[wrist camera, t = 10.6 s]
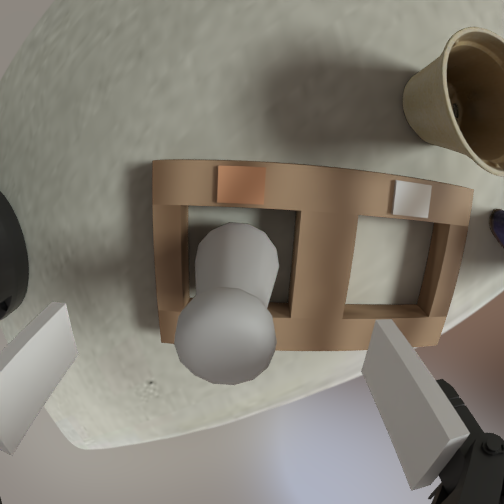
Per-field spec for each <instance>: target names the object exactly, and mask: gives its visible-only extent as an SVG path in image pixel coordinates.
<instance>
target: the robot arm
mask: <svg viewBox="0 0 504 504" xmlns="http://www.w3.org/2000/svg"><path fill="white" fill-rule="evenodd" d="M28 276H29V268H28V256H27V250H26V245H25V241H24V237H23V233H22V230H21V227H20V224H19V222H18V219H17V217H16V215H15V213H14V211H13V209H12V207H11V205H10V204H9V202H8V201H7V199H6V198H5V196H4V195H3V194H2V193H1V192H0V320H1V319H3V318H5V317H7V316H8V315H9V314H10V313H12V312H13V311H14V310H15V309H16V308H18V307H19V305H20V304H21V303H22V301H23V299H24V297H25V294H26V291H27V286H28ZM78 355H79V354H78V350H77V347H76V343H75V339H74V335H73V332H72V327H71V323H70V319H69V315H68V310H67V306H66V303H61V302H52V303H50V304H49V305H48V306H47V307H46V308H45V309H44V310H43V311H42V312H41V313H40V314H39V315H37V316H36V317H35V318H34V319H33V320H32V321H31V322H30V323H29V324H28V325H27V326H26V327H25V328H24V329H23V330H22V331H21V332H20V333H19V334H18V335H17V336H16V337H15V338H14V339H13V340H12V341H11V342H10V343H9V344H8V345H7V346H6V347H5V348H4V349H3V350H2V351H1V352H0V450H1V451H4V452H6V453H7V454H9V455H11V456H13V454H14V452H15V451H16V449H17V447H18V446H19V444H20V442H21V440H22V439H23V437H24V436H25V434H26V432H27V431H28V429H29V428H30V426H31V425H32V423H33V421H34V420H35V418H36V417H37V415H38V414H39V412H40V410H41V409H42V407H43V406H44V404H45V403H46V401H47V400H48V398H49V397H50V395H51V394H52V392H53V391H54V389H55V388H56V386H57V385H58V383H59V382H60V380H61V379H62V377H63V376H64V375H65V373H66V372H67V370H68V369H69V367H70V366H71V365H72V363H73V362H74V360H75V359H76V357H77V356H78ZM361 372H362V374H363V376H364V378H365V380H366V383H367V385H368V387H369V389H370V392H371V394H372V396H373V398H374V401H375V403H376V405H377V408H378V410H379V412H380V415H381V417H382V419H383V422H384V424H385V426H386V429H387V431H388V434H389V436H390V438H391V441H392V443H393V446H394V448H395V450H396V453H397V456H398V458H399V461H400V463H401V466H402V468H403V471H404V473H405V475H406V478H407V481H408V483H409V486H410V489H411V490H415V489H418V488H422V487H425V486H428V485H431V483H432V482H433V481H434V480H435V479H436V478H437V477H438V475H439V477H440V479H441V481H442V482H441V484H440V485H439V486H438V487H437V488H436V489H435V490H434V491H433V492H432V493H431V495H430V496H429V498H428V499H431V498H432V497H433V496H434V495H435V496H434V499H433V501H432V503H431V504H504V440H503V439H502V438H501V437H500V436H498V435H496V434H494V433H484V432H483V431H482V429H481V428H480V426H479V425H478V423H477V421H476V420H475V418H474V417H473V415H472V414H471V413H470V411H469V410H468V408H467V407H466V406H464V402H463V401H462V399H461V398H459V395H458V394H457V392H456V391H455V389H454V388H453V387H452V386H451V385H450V384H448V383H447V382H446V381H444V380H443V379H440V380H435V379H434V377H433V376H432V374H431V373H430V372H429V370H428V369H427V367H426V366H425V364H424V363H423V362H422V360H421V359H420V357H419V356H418V354H417V353H416V352H415V350H414V349H413V347H412V346H411V345H410V343H409V342H408V341H407V339H406V338H405V336H404V335H403V334H402V332H401V331H400V330H399V328H398V327H397V326H396V324H395V323H394V322H393V320H392V319H381V320H375V324H374V328H373V332H372V336H371V340H370V343H369V347H368V351H367V354H366V358H365V361H364V364H363V368H362V371H361ZM0 504H2V502H1V498H0Z"/></svg>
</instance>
